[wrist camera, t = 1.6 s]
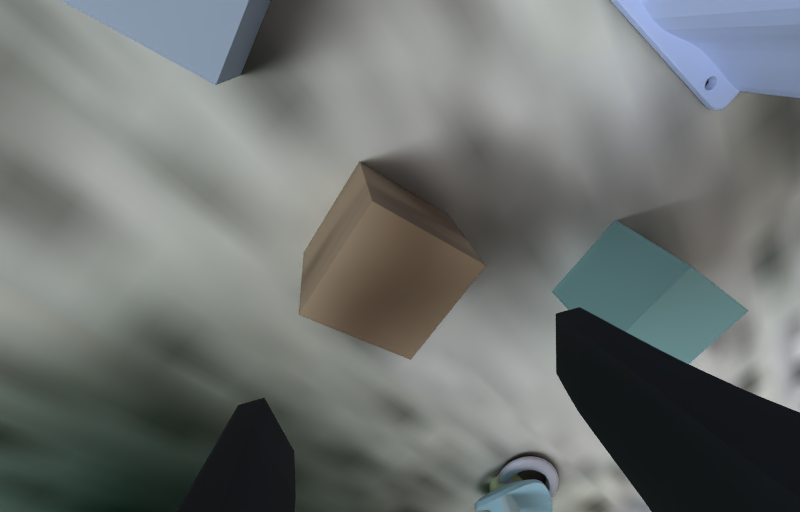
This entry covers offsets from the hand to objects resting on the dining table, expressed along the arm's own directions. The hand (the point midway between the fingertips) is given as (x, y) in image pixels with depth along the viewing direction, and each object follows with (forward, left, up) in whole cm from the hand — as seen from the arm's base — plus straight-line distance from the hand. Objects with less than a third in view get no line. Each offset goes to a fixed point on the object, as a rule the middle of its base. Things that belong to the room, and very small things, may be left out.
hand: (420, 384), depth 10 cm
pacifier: (-19, +12, -9) cm, 24 cm away
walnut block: (0, 0, -9) cm, 9 cm away
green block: (-12, -4, -9) cm, 15 cm away
